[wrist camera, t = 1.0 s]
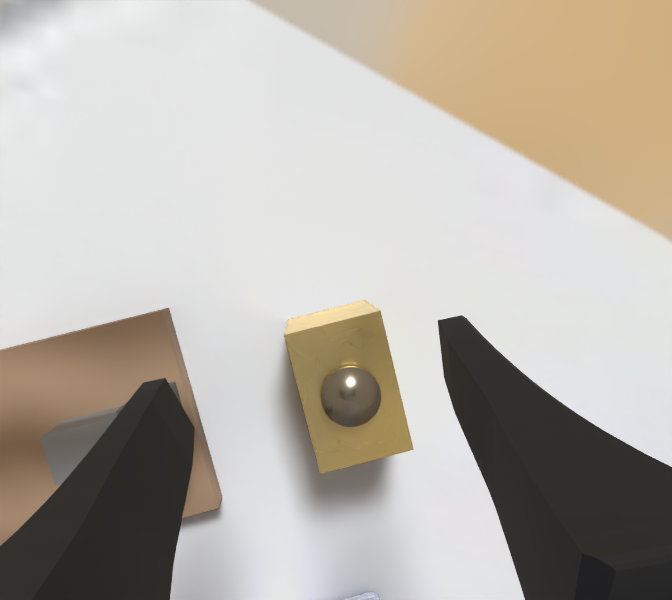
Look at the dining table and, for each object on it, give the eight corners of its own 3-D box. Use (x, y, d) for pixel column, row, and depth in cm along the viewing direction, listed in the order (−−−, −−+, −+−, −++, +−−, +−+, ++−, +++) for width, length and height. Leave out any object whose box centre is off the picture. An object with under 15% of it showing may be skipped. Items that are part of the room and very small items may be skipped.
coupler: (392, 411, 25) (416, 455, 20) (316, 431, 25) (320, 481, 20) (365, 299, 25) (383, 312, 19) (288, 319, 25) (283, 337, 19)
